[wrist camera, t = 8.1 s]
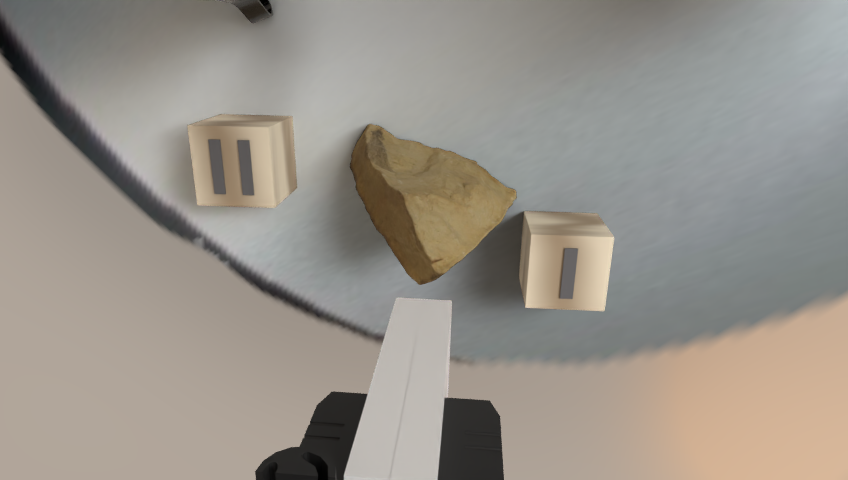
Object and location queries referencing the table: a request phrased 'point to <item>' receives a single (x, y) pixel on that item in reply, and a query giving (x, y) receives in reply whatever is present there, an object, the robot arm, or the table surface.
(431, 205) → the rock
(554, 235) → the birch block
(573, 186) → the table surface
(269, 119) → the birch block
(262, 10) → the coffee press
